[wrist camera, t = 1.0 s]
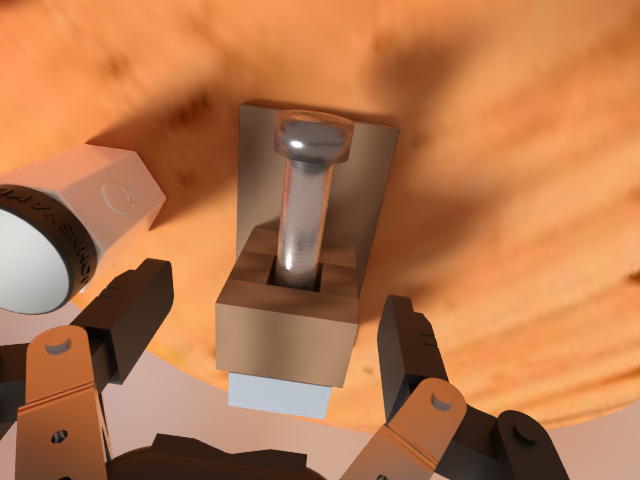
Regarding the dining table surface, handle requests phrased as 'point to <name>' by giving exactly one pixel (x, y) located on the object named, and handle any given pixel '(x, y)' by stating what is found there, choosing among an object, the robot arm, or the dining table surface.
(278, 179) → the bearing block
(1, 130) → the dining table surface
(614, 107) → the dining table surface
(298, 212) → the shaft
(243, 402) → the block
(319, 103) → the dining table surface
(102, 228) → the jar
